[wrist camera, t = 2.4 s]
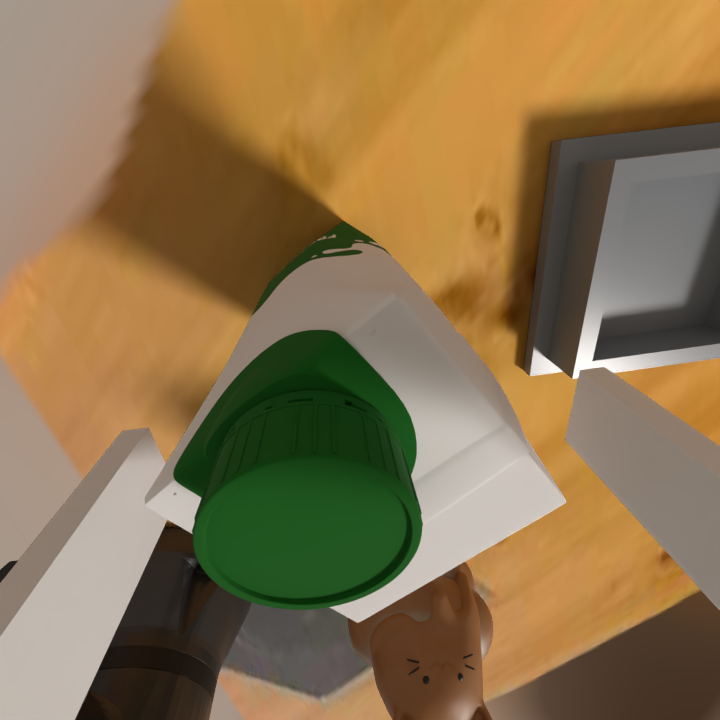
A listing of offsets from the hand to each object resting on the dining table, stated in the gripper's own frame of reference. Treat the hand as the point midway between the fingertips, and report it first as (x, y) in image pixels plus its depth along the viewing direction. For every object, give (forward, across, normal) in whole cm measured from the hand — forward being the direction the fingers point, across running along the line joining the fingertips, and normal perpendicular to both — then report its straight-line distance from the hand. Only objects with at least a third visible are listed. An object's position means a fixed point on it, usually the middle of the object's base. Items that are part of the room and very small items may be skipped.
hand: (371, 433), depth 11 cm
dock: (+16, -22, 0) cm, 27 cm away
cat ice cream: (+15, -2, +18) cm, 24 cm away
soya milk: (+16, 0, 0) cm, 16 cm away
